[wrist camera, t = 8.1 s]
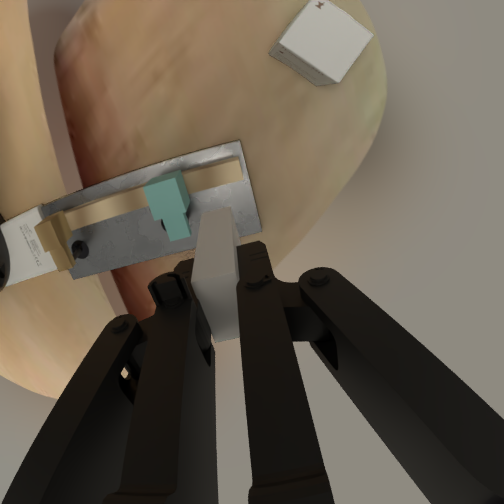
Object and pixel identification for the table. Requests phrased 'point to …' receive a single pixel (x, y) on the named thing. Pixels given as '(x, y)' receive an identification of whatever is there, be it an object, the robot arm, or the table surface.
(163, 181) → the block
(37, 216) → the external hard drive
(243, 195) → the bolt plate
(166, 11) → the table surface
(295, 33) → the product box
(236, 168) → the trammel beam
